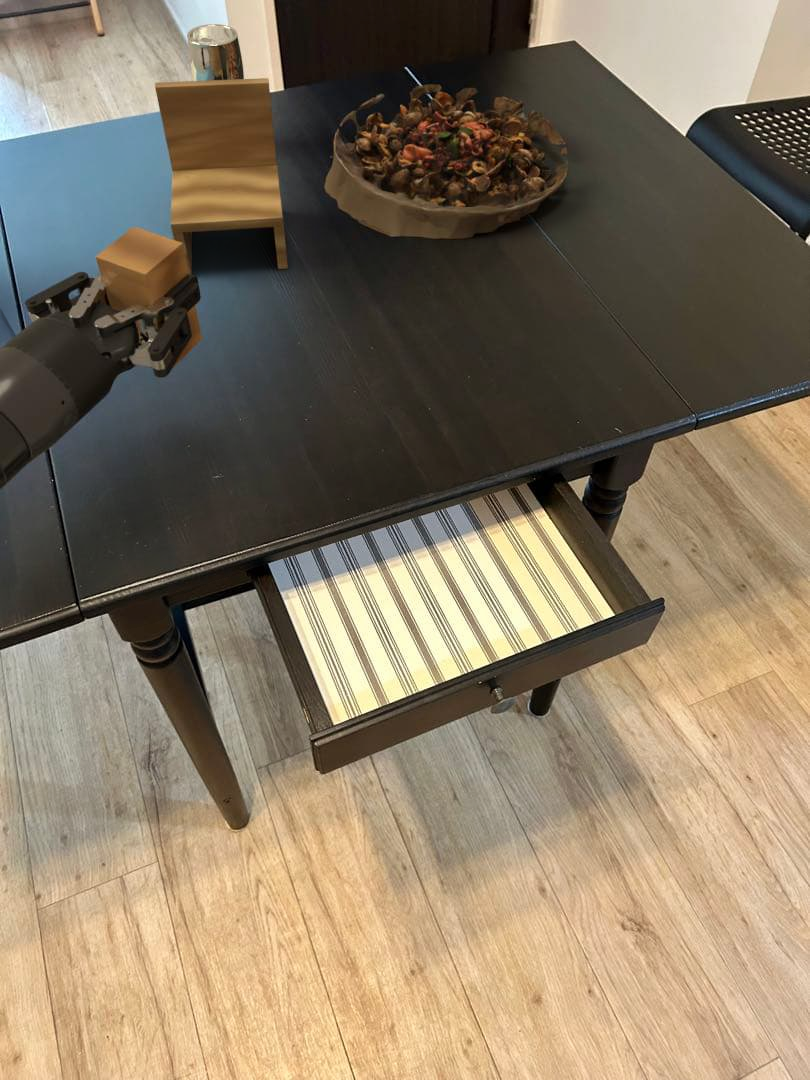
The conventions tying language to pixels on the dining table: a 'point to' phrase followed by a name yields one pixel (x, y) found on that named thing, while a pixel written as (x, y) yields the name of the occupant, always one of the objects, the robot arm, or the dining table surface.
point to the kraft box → (145, 274)
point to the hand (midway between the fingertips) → (168, 274)
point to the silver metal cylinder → (215, 53)
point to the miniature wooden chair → (221, 158)
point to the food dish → (443, 167)
